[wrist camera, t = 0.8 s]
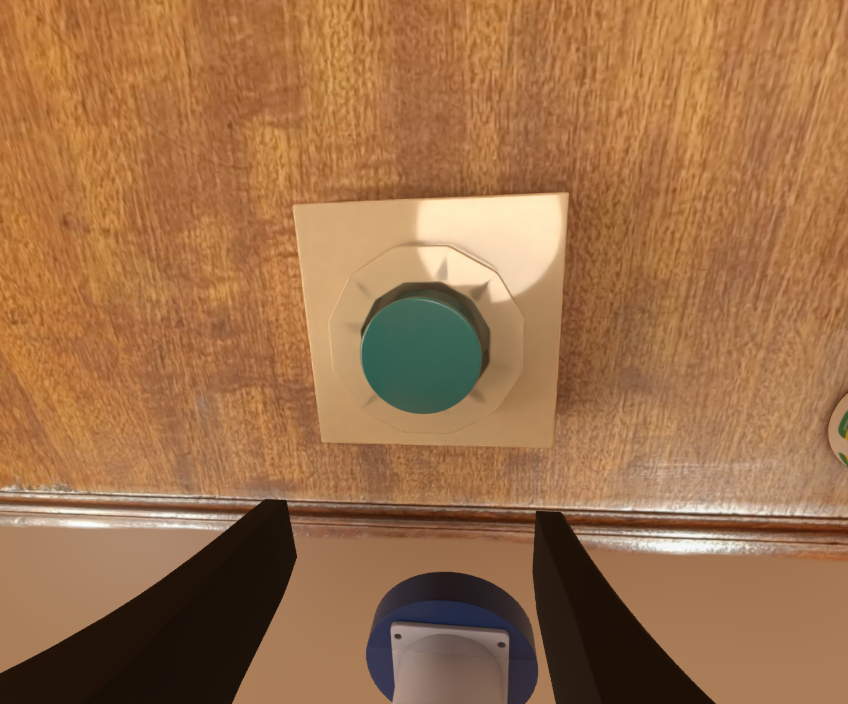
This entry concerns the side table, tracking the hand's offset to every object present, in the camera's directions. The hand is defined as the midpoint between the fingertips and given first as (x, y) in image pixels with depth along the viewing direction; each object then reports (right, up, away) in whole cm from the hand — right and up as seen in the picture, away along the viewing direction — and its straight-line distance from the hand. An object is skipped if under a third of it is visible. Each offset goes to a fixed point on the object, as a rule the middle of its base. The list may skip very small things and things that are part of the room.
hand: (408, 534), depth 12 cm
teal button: (+1, +5, +4) cm, 7 cm away
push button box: (+1, +7, +8) cm, 11 cm away
